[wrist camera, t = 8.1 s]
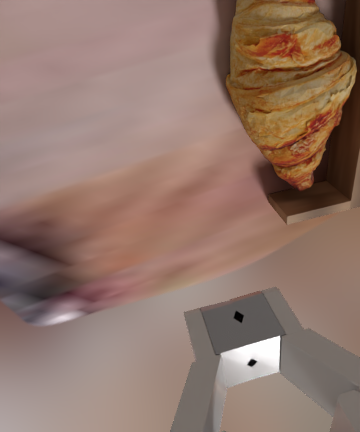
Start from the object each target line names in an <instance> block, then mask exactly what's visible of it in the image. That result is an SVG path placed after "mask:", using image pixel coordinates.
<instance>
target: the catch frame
mask: <svg viewBox="0 0 360 432" xmlns="http://www.w3.org/2000/svg"><path fill="white" fill-rule="evenodd" d="M341 51H344V52H346V53H348V54H349V55H350V56H351V57H353V58H354V59H355V61H356V67H357V73H356V77H355V83H354V85H353V87H352V89H351V92H350V95H349V98H348V99H347V100H346V102H345V104H344V105H343V106H342V116H341V120H340V122H339V123H340V124H339V125H337V126H335V127H334V128H333V130H332V131H331V140H330V150H329V159H328V168H327V177H326V181H322V182H318V183H314V184H312V186H311V187H309V188H307V189H305V190H303V191H297V190H296V189H294V188H293V189H289V190H285V191H281V192H277V193H273V194H269V203H270V204H271V206H272V207H273V208H274V209H275V211H276V212H277V213H278V214H279V216H280V217H281V218H282V219H283V221H284V222H285V223H286V224H287V225H288V224H292V223H296V222H300V221H304V220H308V219H312V218H316V217H320V216H324V215H328V214H332V213H336V212H340V211H344V210H348V209H352V208H356V207H360V0H346V5H345V14H344V23H343V32H342V41H341Z"/></svg>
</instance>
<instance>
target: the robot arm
mask: <svg viewBox="0 0 360 432" xmlns="http://www.w3.org/2000/svg"><path fill="white" fill-rule="evenodd" d="M184 316H185V321H186V325H187V329H188V333H189V337H190V342H191V346H192V350H193V354H194V357H195V361H196V362H193V363H192V365H191V368H190V371H189V374H188V377H187V380H186V383H185V387H184V389H183V393H182V396H181V399H180V402H179V405H178V408H177V412H176V415H175V418H174V421H173V424H172V427H171V430H170V432H219V430H220V425H221V419H222V414H223V408H224V403H225V397H226V392H227V388H228V387H231V386H234V385H237V384H240V383H243V382H246V381H249V380H252V379H256V378H260V377H263V376H266V375H271V374H274V373H278V372H280V374H281V375H283V376H284V377H285V378H286V379H287V380H289V381H290V382H291V383H292V384H293V385H295V386H296V387H297V388H298V389H300V390H301V391H302V392H303V393H304V394H306V395H307V396H308V397H309V398H311V399H312V400H313V401H314V402H315V403H317V404H318V405H319V406H320V407H321V408H323V409H324V410H325V411H326V412H328V413H329V414H330V415H331V416H332V417H333V421H332V424H331V428H330V432H360V357H358V356H356V355H355V354H353V353H351V352H349V351H348V350H346V349H344V348H343V347H341V346H339V345H337V344H335V343H334V342H332V341H330V340H329V339H327V338H325V337H323V336H322V335H320V334H318V333H316V332H315V331H313V330H311V329H304V328H303V327H302V326H301V324H300V322H299V321H298V319H297V317H296V316H295V314H294V312H293V311H292V309H291V308H290V306H289V305H288V303H287V301H286V300H285V298H284V297H283V295H282V294H281V292H280V290H279V289H278V288H277V287H272V288H269V289H266V290H262V291H257V292H254V293H250V294H247V295H244V296H240V297H237V298H234V299H231V300H229V301H225V302H221V303H217V304H214V305H209V306H206V307H201V308H200V309H199V308H198V309H194V310H190V311H187V312H184ZM222 432H226V431H222Z"/></svg>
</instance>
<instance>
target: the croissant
mask: <svg viewBox="0 0 360 432" xmlns="http://www.w3.org/2000/svg"><path fill="white" fill-rule="evenodd" d="M340 48H341V42H340V40H339V36H338V35H337V34H336V27H335V26H334V24H333V23H332V21H329V20H326V19H325V17H324V15H323V14H322V13H320V12H319V8H318V6H317V5H316V3H315V0H237V2H236V12H235V16H234V18H233V21H232V32H231V37H230V70H231V73H230V74H228V75H227V77H226V87H227V90H228V92H229V94H230V96H231V99H232V102H233V104H234V106H235V108H236V111H237V113H238V114H239V116H240V118H241V120H242V124H243V126H244V128H245V130H246V132H247V134H248V135H249V137H250V138H251V140H252V141H253V142H254V143H255V144H256V145H257V147H258V148H259V149H260V151H261V153H262V154H263V155H264V156H265V158H266V159H268V160H269V161H270V162H271V163H272V165H273V167H274V170H275V172H276V173H277V175H278V176H279V177H280V178H282V179H283V180H285V181H287V182H288V183H289V184H290V185H292V186H293V187H294V189H296V190H297V191H303V190H305V189H307V188H309V187H311V186H312V184H313V182H314V176H313V170H315V169H316V167H317V166H318V165H319V164H320V161H321V159H322V155H323V152H324V151H325V150H326V148H325V144H326V141H327V139H328V138H329V136H330V133H331V131H332V130H333V128H334V127H335V126H337V125H339V124H340V123H339V122H340V120H341V116H342V106H343V105H344V104H345V102H346V100H347V99H348V98H349V95H350V92H351V89H352V87H353V85H354V83H355V77H356V73H357V67H356V61H355V59H354V58H353V57H351V56H350V55H349V54H348V53H346V52H344V51H341V50H340Z"/></svg>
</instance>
